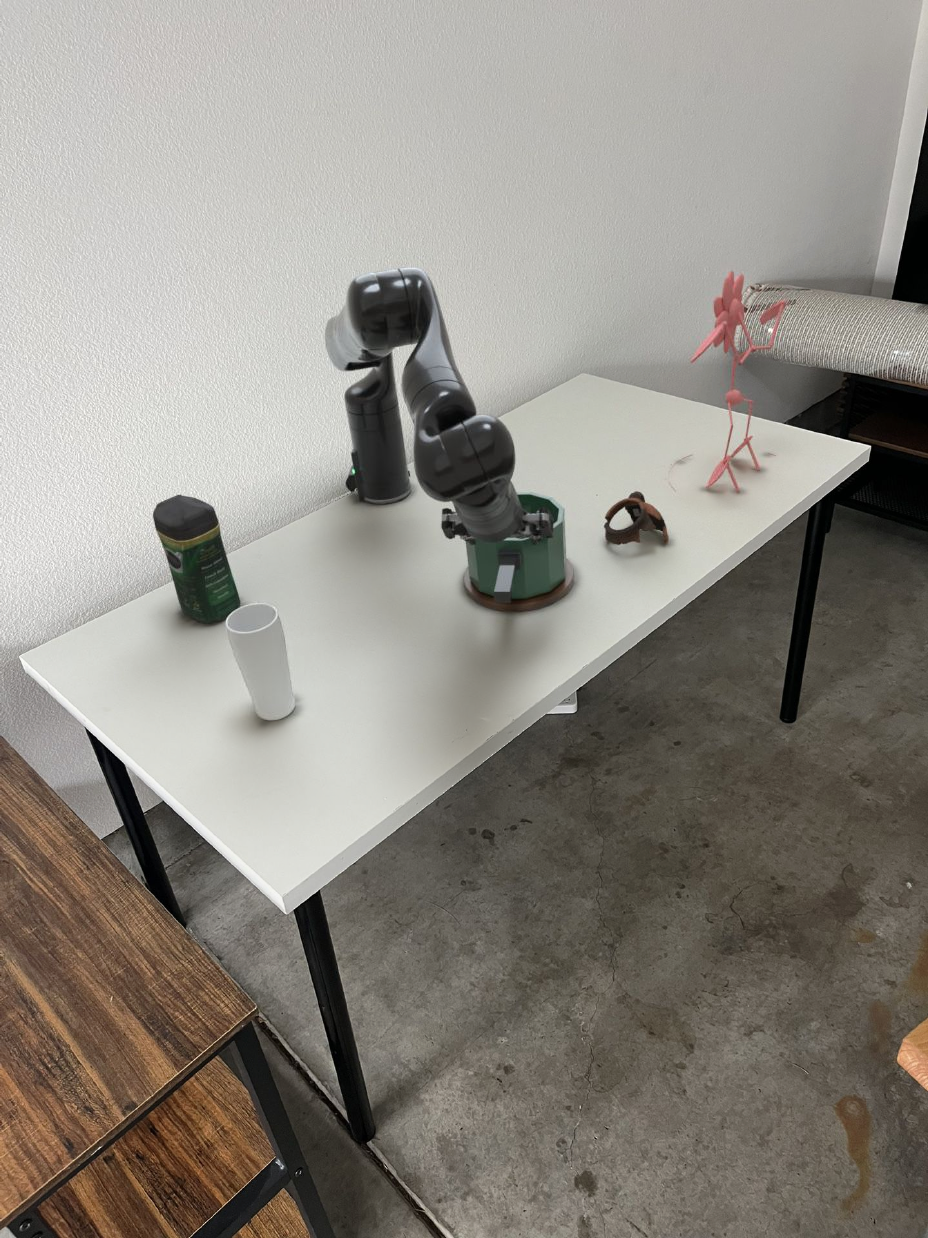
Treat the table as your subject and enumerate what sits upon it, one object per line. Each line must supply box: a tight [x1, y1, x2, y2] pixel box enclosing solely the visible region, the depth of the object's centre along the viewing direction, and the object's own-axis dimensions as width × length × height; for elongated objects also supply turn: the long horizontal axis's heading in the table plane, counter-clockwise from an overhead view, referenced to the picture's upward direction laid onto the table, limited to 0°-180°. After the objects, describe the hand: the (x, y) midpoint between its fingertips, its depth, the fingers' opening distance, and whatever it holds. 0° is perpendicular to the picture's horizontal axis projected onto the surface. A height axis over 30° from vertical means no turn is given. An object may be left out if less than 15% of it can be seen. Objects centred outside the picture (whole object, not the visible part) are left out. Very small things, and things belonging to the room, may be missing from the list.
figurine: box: [665, 270, 787, 492], centre depth 161 cm, size 15×26×35 cm, turn 144°
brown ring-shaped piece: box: [603, 490, 669, 546], centre depth 154 cm, size 12×10×8 cm
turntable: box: [463, 557, 575, 613], centre depth 147 cm, size 17×17×1 cm
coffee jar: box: [152, 494, 242, 624], centre depth 144 cm, size 10×8×19 cm
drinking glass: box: [224, 602, 296, 721], centre depth 123 cm, size 7×7×15 cm
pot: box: [465, 491, 567, 603], centre depth 140 cm, size 25×15×10 cm, turn 172°
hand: (504, 537), depth 131 cm, fingers open, 8 cm apart
